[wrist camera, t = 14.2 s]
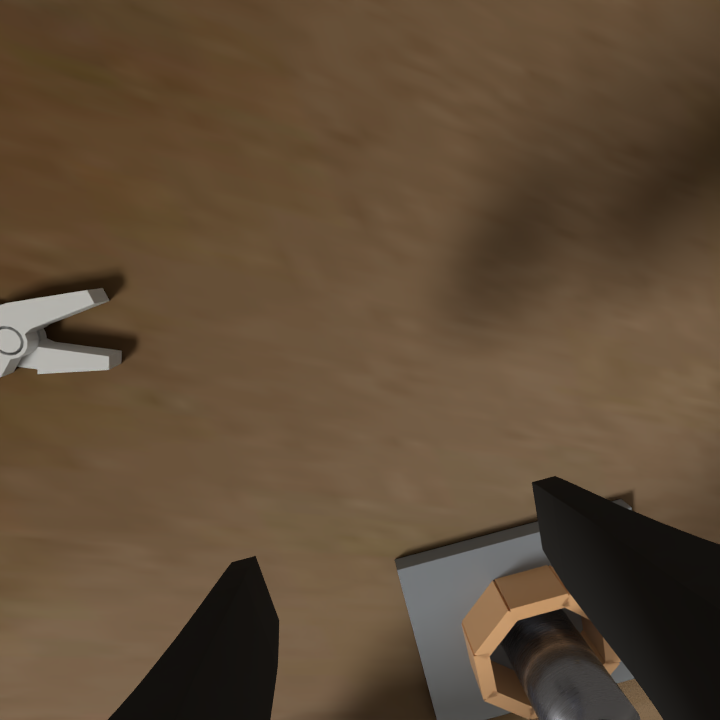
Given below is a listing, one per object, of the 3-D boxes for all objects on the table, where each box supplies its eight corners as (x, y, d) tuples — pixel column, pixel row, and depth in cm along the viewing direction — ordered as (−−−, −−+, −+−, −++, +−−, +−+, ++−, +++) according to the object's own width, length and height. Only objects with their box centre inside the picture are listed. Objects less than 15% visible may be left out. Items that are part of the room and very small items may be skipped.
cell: (500, 662, 24) (562, 791, 18) (495, 606, 23) (559, 724, 17) (566, 646, 24) (647, 768, 18) (564, 590, 23) (649, 700, 17)
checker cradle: (436, 718, 26) (449, 772, 23) (394, 559, 23) (404, 600, 20) (636, 662, 26) (673, 709, 23) (621, 498, 23) (660, 531, 20)
